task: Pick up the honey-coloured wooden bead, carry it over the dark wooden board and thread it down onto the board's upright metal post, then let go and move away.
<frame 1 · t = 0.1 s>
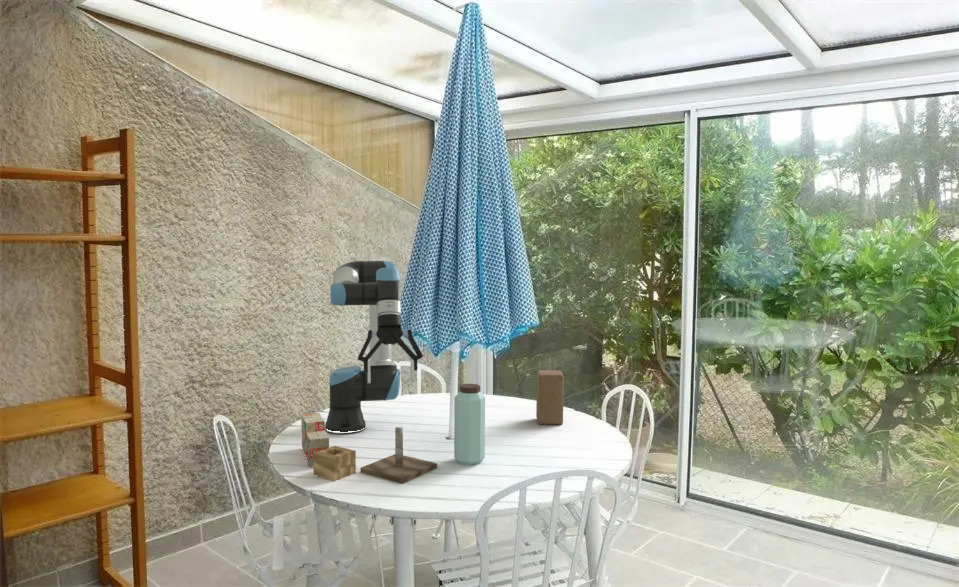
hand: (391, 382, 213), 28 cm above the table, tool tilted 20°, fingers open, 13 cm apart
water bottle: (469, 461, 224), on the table
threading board: (399, 470, 214), on the table
bead: (334, 474, 210), on the table
wooden block: (549, 422, 272), on the table
stack of blocks: (315, 457, 227), on the table
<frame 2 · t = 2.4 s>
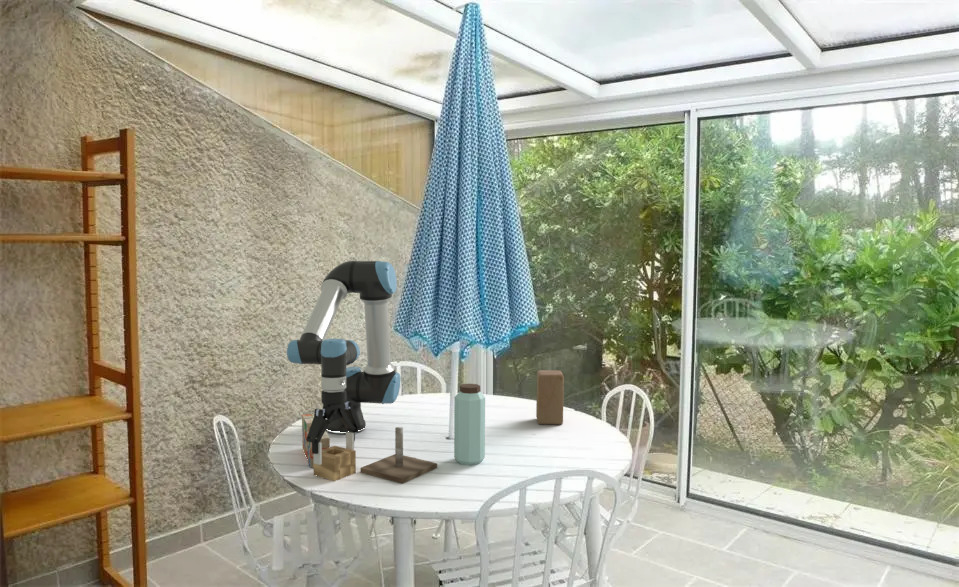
hand: (334, 458, 210), 5 cm above the table, tool pointing down, fingers open, 13 cm apart
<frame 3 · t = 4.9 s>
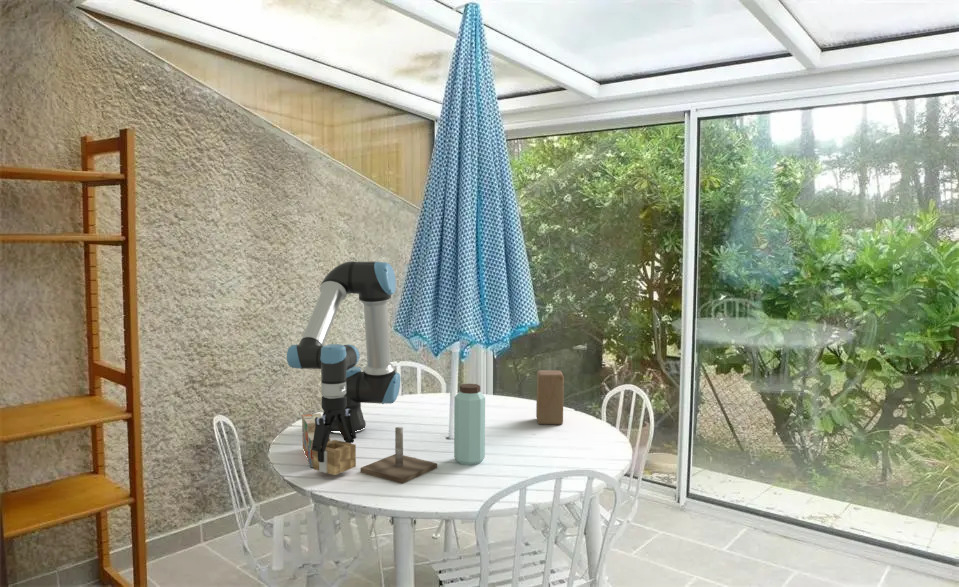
hand: (335, 467, 210), 2 cm above the table, tool pointing down, fingers closed on bead, 9 cm apart
bead: (334, 467, 210), point 2 cm above the table, touching gripper
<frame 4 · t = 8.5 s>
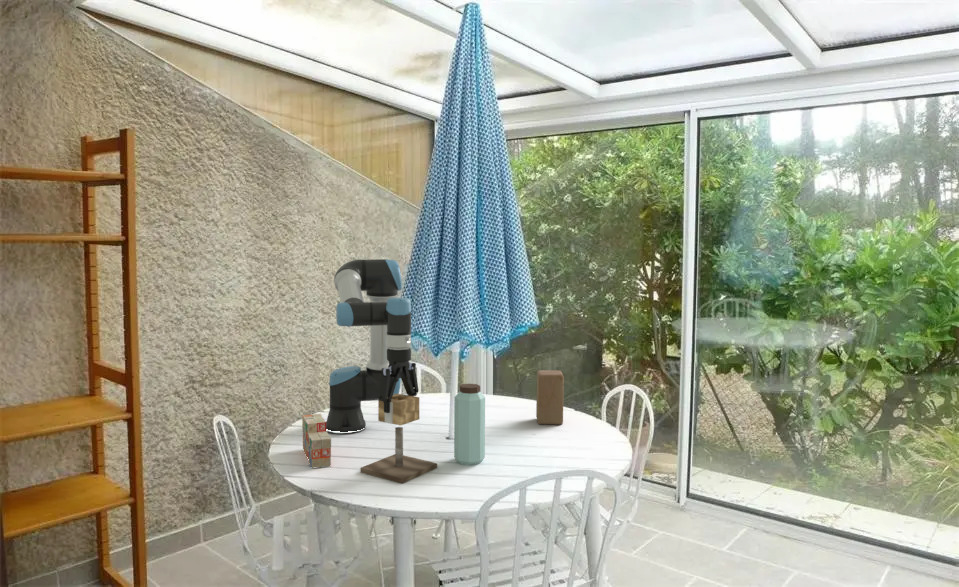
hand: (399, 419, 213), 16 cm above the table, tool pointing down, fingers closed on bead, 9 cm apart
bead: (399, 420, 213), point 16 cm above the table, touching gripper
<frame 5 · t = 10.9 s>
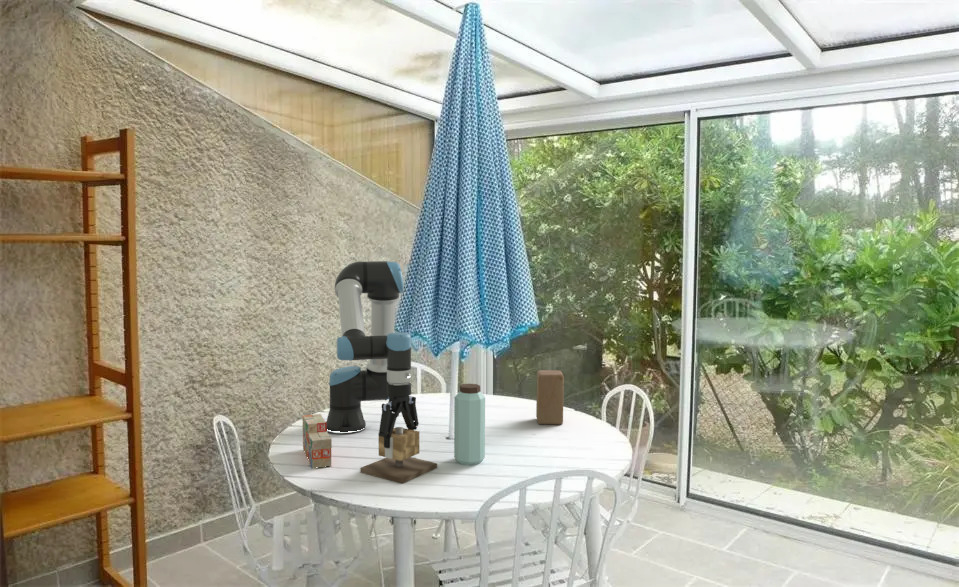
hand: (399, 453, 214), 5 cm above the table, tool pointing down, fingers closed on bead, 9 cm apart
bead: (399, 454, 214), point 5 cm above the table, touching gripper
when the fingers open (3 cm above the table, at t = 12.5 s): bead drops 1 cm, resting on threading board.
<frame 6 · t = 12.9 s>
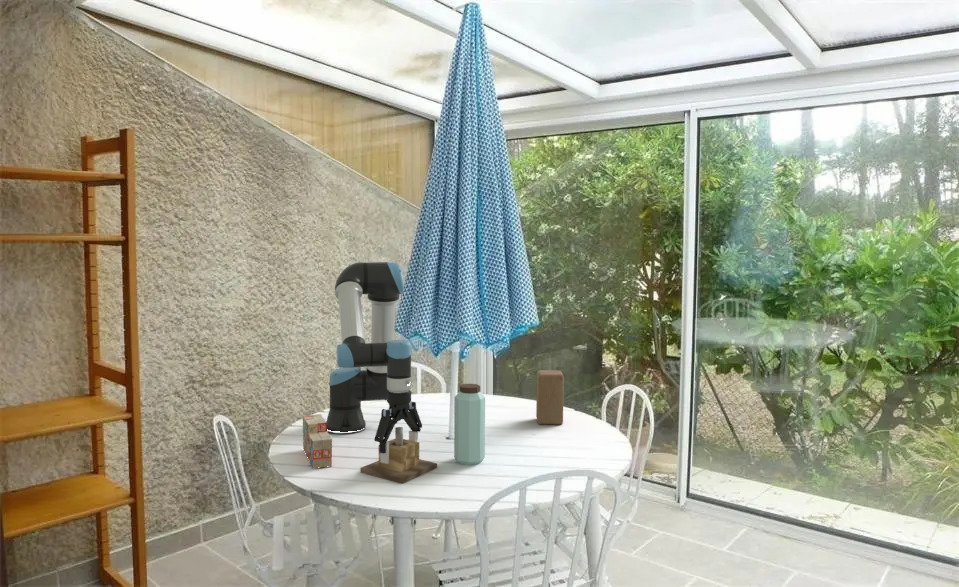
hand: (399, 457, 214), 4 cm above the table, tool pointing down, fingers open, 13 cm apart
bead: (399, 465, 214), point 1 cm above the table, touching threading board
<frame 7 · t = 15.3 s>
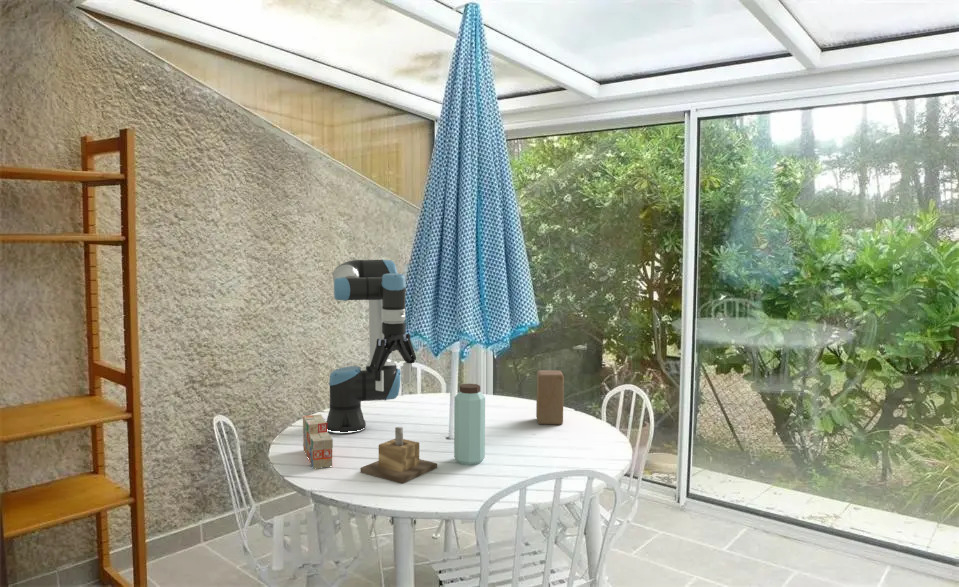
hand: (393, 386, 222), 25 cm above the table, tool pointing down, fingers open, 13 cm apart
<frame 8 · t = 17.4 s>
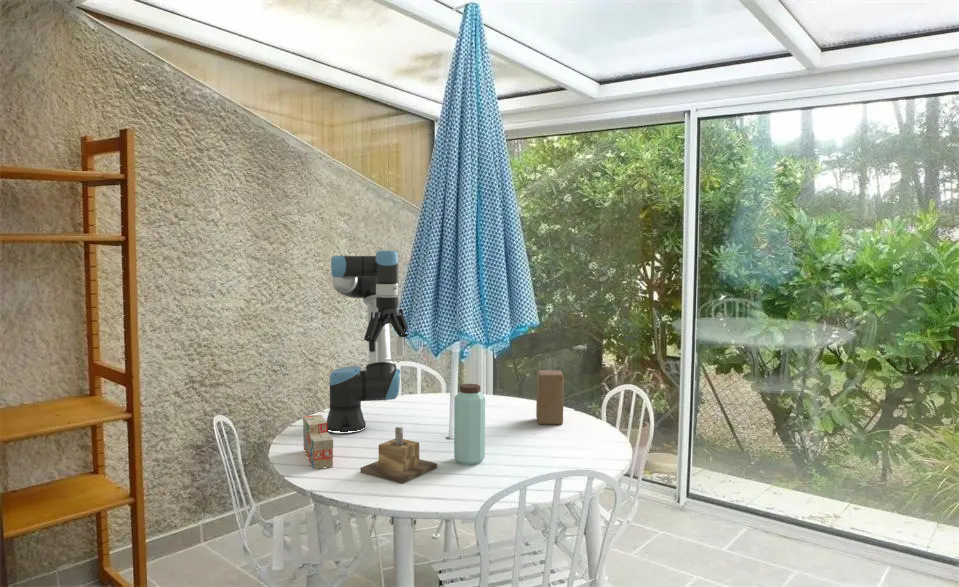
hand: (387, 358, 233), 32 cm above the table, tool pointing down, fingers open, 13 cm apart
at the end: bead 0.1 cm off-centre on the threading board, point 1.5 cm above the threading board's base; the gripper is holding nothing; bead tilted 0° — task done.
